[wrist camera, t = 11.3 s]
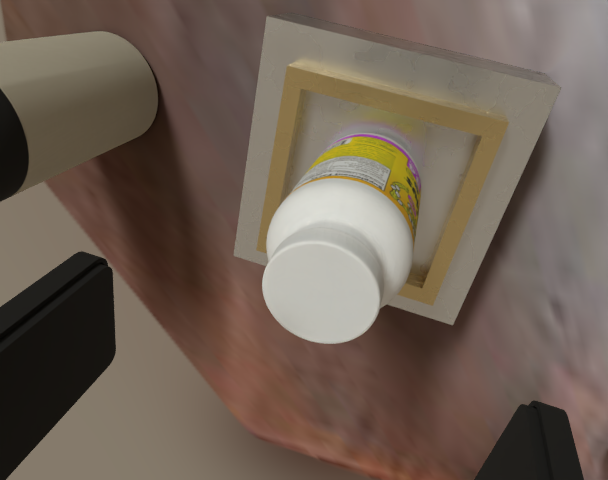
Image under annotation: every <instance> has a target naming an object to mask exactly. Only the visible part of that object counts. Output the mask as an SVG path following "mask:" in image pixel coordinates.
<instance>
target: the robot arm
mask: <svg viewBox="0 0 608 480" xmlns="http://www.w3.org/2000/svg"><path fill="white" fill-rule="evenodd" d="M113 298H114V295H113V272H112V269H111V268H110V267H108V263H107V261H106V259H104V258H101V257H98V256H95V255H91V254H89V253H86V252H78V253H76V254H74V255H73V256H71V257H70V258H69V259H67V260H66V261H64V262H63V263H62V264H60V265H59V266H57V267H56V268H55V269H53V270H52V271H50V272H49V273H48V274H46V275H45V276H43V277H42V278H41V279H39V280H38V281H36V282H35V283H34V284H32V285H31V286H29V287H28V288H26V289H25V290H24V291H22V292H21V293H20V294H18V295H17V296H15V297H14V298H12V299H11V300H10V301H8V302H7V303H5V304H4V305H3V306H1V307H0V480H6V479H7V477H8V476H9V475H10V474H11V473H12V472H13V471H14V470H15V469H16V468H17V467H18V465H19V464H20V463H21V462H22V461H23V460H24V459H25V458H26V457H27V456H28V454H29V453H30V452H31V451H32V450H33V449H34V448H35V447H36V446H37V445H38V443H39V442H40V441H41V440H42V439H43V438H44V437H45V436H46V435H47V433H48V432H49V431H50V430H51V429H52V428H53V427H54V426H55V425H56V424H57V422H58V421H59V420H60V419H61V418H62V417H63V416H64V415H65V414H66V413H67V411H68V410H69V409H70V408H71V407H72V406H73V405H74V404H75V403H76V402H77V400H78V399H79V398H80V397H81V396H82V395H83V394H84V393H85V392H86V390H87V389H88V388H89V387H90V386H91V385H92V384H93V383H94V382H95V381H96V379H97V378H98V377H99V376H100V375H101V374H102V373H103V372H104V371H105V369H106V368H107V367H108V366H109V365H110V363H111V362H112V360H113V358H114V356H115V351H116V345H115V320H114V299H113ZM474 480H584V478H583V474H582V470H581V466H580V462H579V459H578V455H577V451H576V447H575V443H574V439H573V435H572V431H571V427H570V423H569V420H568V416H567V414H566V412H565V411H564V410H562V409H559V408H556V407H553V406H550V405H547V404H544V403H541V402H538V401H532V402H531V403H530V404H529V405H528V406H527V405H524V404H521V405H520V406H519V407H518V409H517V410H516V412H515V414H514V415H513V417H512V419H511V420H510V422H509V423H508V425H507V427H506V428H505V430H504V432H503V433H502V435H501V437H500V438H499V440H498V441H497V443H496V445H495V446H494V448H493V450H492V451H491V453H490V455H489V456H488V458H487V460H486V461H485V463H484V464H483V466H482V468H481V469H480V471H479V473H478V474H477V476H476V478H475V479H474Z"/></svg>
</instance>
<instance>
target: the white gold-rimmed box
mask: <svg viewBox="0 0 608 480" xmlns="http://www.w3.org/2000/svg"><path fill="white" fill-rule="evenodd" d="M560 90H561V87H560V86H559V85H557V84H556V83H555V82H554V81H553V80H552V79H550V78H549V77H548V76H547V75H546V74H544V73H541V72H537V71H532V70H528V69H524V68H520V67H516V66H512V65H507V64H503V63H499V62H495V61H491V60H487V59H482V58H478V57H474V56H470V55H466V54H462V53H457V52H453V51H449V50H445V49H441V48H437V47H432V46H428V45H424V44H420V43H416V42H412V41H407V40H403V39H399V38H395V37H391V36H387V35H383V34H378V33H374V32H370V31H366V30H362V29H358V28H353V27H349V26H345V25H341V24H337V23H333V22H328V21H324V20H320V19H316V18H312V17H308V16H303V15H299V14H295V13H287V14H279V15H272V16H267V19H266V26H265V33H264V40H263V48H262V55H261V62H260V69H259V76H258V84H257V91H256V98H255V105H254V112H253V120H252V127H251V134H250V141H249V148H248V156H247V163H246V170H245V177H244V184H243V192H242V199H241V206H240V213H239V220H238V228H237V235H236V242H235V249H234V256H236V257H239V258H242V259H246V260H249V261H252V262H255V263H258V264H261V265H264V266H267V264H268V262H269V261H268V257H267V249H266V241H267V233H268V229H269V225H270V223H271V220H272V218H273V216H274V214H275V212H276V210H277V209H278V208H279V206H280V205H281V204H282V202H283V201H284V200H285V198H286V197H287V196H288V195H289V194H290V192H291V191H292V190H293V189H294V188H295V186H296V185H297V184H298V183H299V181H300V180H301V179H302V177H303V176H304V175H305V174H306V172H307V171H308V170H309V168H310V167H311V166H312V165H313V163H314V162H315V161H316V160H317V158H318V157H319V156H320V155H321V153H322V152H323V151H324V150H325V149H326V148H327V147H328V146H329V145H331V144H332V143H333V142H335V141H337V140H338V139H340V138H342V137H345V136H347V135H351V134H356V133H374V134H379V135H383V136H385V137H388V138H390V139H392V140H394V141H395V142H397V143H398V144H400V145H401V146H402V147H403V148H404V149H405V150H406V151H407V152H408V153H409V154H410V156H411V157H412V158H413V160H414V162H415V164H416V166H417V168H418V171H419V174H420V180H421V198H420V207H419V215H418V222H417V229H416V237H415V244H414V253H413V261H412V266H411V270H410V273H409V276H408V278H407V280H406V283H405V284H404V286H403V287H402V289H401V290H400V292H399V293H398V294H397V295H396V296H395V297H394V298H393V299H392V300H391V301H390V302H389V303H388V304H387V305H390V306H393V307H396V308H400V309H403V310H406V311H409V312H412V313H415V314H418V315H422V316H425V317H428V318H431V319H434V320H437V321H440V322H444V323H447V324H450V325H453V324H454V322H455V320H456V317H457V315H458V313H459V311H460V309H461V306H462V304H463V302H464V300H465V298H466V295H467V293H468V291H469V289H470V287H471V285H472V282H473V280H474V278H475V276H476V274H477V271H478V269H479V267H480V265H481V263H482V260H483V258H484V256H485V254H486V252H487V249H488V247H489V245H490V243H491V241H492V239H493V236H494V234H495V232H496V230H497V228H498V225H499V223H500V221H501V219H502V217H503V214H504V212H505V210H506V208H507V206H508V203H509V201H510V199H511V197H512V195H513V193H514V190H515V188H516V186H517V184H518V182H519V179H520V177H521V175H522V173H523V171H524V168H525V166H526V164H527V162H528V160H529V157H530V155H531V153H532V151H533V149H534V146H535V144H536V142H537V140H538V138H539V136H540V133H541V131H542V129H543V127H544V125H545V122H546V120H547V118H548V116H549V114H550V111H551V109H552V107H553V105H554V103H555V100H556V98H557V96H558V94H559V92H560Z"/></svg>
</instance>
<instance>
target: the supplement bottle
mask: <svg viewBox="0 0 608 480" xmlns="http://www.w3.org/2000/svg"><path fill="white" fill-rule="evenodd" d="M420 198H421V180H420V174H419V171H418V168H417V166H416V164H415V162H414V160H413V158H412V157H411V156H410V154H409V153H408V152H407V151H406V150H405V149H404V148H403V147H402V146H401V145H400V144H398V143H397V142H395V141H394V140H392V139H390V138H388V137H385V136H383V135H379V134H374V133H356V134H351V135H347V136H345V137H342V138H340V139H338V140H337V141H335V142H333V143H332V144H331V145H329V146H328V147H327V148H326V149H325V150H324V151H323V152H322V153H321V155H320V156H319V157H318V158H317V160H316V161H315V162H314V163H313V165H312V166H311V167H310V168H309V170H308V171H307V172H306V174H305V175H304V176H303V177H302V179H301V180H300V181H299V183H298V184H297V185H296V186H295V188H294V189H293V190H292V191H291V192H290V194H289V195H288V196H287V197H286V198H285V200H284V201H283V202H282V204H281V205H280V206H279V208H278V209H277V210H276V212H275V214H274V216H273V218H272V220H271V223H270V225H269V229H268V233H267V241H266V249H267V257H268V261H269V262H268V264H267V266H266V268H265V271H264V275H263V280H262V288H263V295H264V299H265V302H266V304H267V307H268V308H269V310H270V312H271V313H272V315H273V316H274V317H275V319H276V320H277V321H278V322H279V323H280V324H281V325H282V326H283V327H284V328H285V329H287V330H288V331H290V332H291V333H293V334H295V335H296V336H298V337H301V338H303V339H306V340H309V341H312V342H317V343H325V344H334V343H343V342H346V341H350V340H352V339H355V338H357V337H359V336H360V335H362V334H363V333H364V332H366V331H367V330H368V329H369V328H370V327H371V325H372V324H373V323H374V321H375V319H376V318H377V315H378V313H379V309H380V308H382V307H384V306H385V305H386V304H388V303H389V302H390V301H391V300H392V299H393V298H394V297H395V296H396V295H397V294H398V293H399V292H400V290H401V289H402V287H403V286H404V284H405V283H406V280H407V278H408V276H409V273H410V270H411V266H412V261H413V253H414V244H415V237H416V229H417V222H418V215H419V207H420Z"/></svg>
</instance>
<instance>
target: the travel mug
mask: <svg viewBox="0 0 608 480" xmlns="http://www.w3.org/2000/svg"><path fill="white" fill-rule="evenodd" d="M157 107H158V92H157V86H156V82H155V79H154V76H153V73H152V71H151V69H150V67H149V65H148V63H147V62H146V60H145V59H144V57H143V56H142V55H141V53H140V52H139V51H138V50H137V49H136V48H135V47H134V46H133V45H132V44H130V43H129V42H128V41H126V40H125V39H123V38H121V37H119V36H117V35H115V34H112V33H109V32H102V31H96V32H87V33H78V34H69V35H60V36H51V37H42V38H33V39H25V40H16V41H7V42H0V201H2V200H5V199H7V198H9V197H11V196H13V195H15V194H17V193H19V192H21V191H24V190H26V189H28V188H30V187H32V186H34V185H37V184H39V183H41V182H43V181H45V180H47V179H49V178H51V177H54V176H56V175H58V174H60V173H62V172H64V171H66V170H69V169H71V168H73V167H75V166H77V165H79V164H81V163H83V162H86V161H88V160H90V159H92V158H94V157H96V156H98V155H100V154H103V153H105V152H107V151H109V150H111V149H113V148H115V147H118V146H120V145H122V144H124V143H126V142H128V141H130V140H132V139H135V138H137V137H139V136H141V135H142V134H143V133H145V132H146V131H147V130H148V129H149V127H150V126H151V124H152V123H153V121H154V118H155V116H156V112H157Z"/></svg>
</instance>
